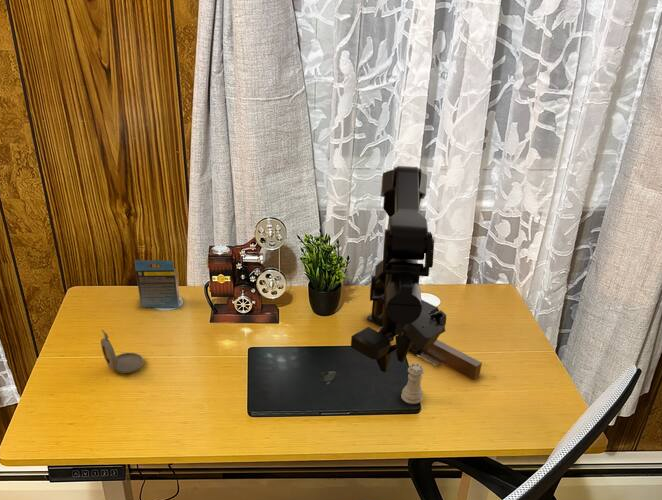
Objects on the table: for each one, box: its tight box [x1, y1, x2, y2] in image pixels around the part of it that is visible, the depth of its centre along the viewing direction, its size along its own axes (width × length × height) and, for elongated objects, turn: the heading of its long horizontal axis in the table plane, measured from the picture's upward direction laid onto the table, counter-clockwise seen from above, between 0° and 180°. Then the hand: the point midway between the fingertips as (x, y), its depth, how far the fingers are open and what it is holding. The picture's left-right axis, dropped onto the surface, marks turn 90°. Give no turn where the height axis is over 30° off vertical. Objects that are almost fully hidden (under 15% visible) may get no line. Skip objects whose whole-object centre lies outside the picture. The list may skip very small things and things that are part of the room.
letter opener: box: [408, 344, 441, 367], centre depth 165 cm, size 11×2×1 cm, turn 45°
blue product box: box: [133, 259, 180, 309], centre depth 174 cm, size 9×4×12 cm, turn 93°
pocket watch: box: [100, 328, 144, 374], centre depth 156 cm, size 8×8×10 cm
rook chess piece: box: [400, 362, 425, 405], centre depth 151 cm, size 4×4×8 cm
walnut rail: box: [413, 339, 483, 380], centre depth 163 cm, size 20×2×4 cm, turn 45°
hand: (392, 366), depth 141 cm, fingers open, 5 cm apart
